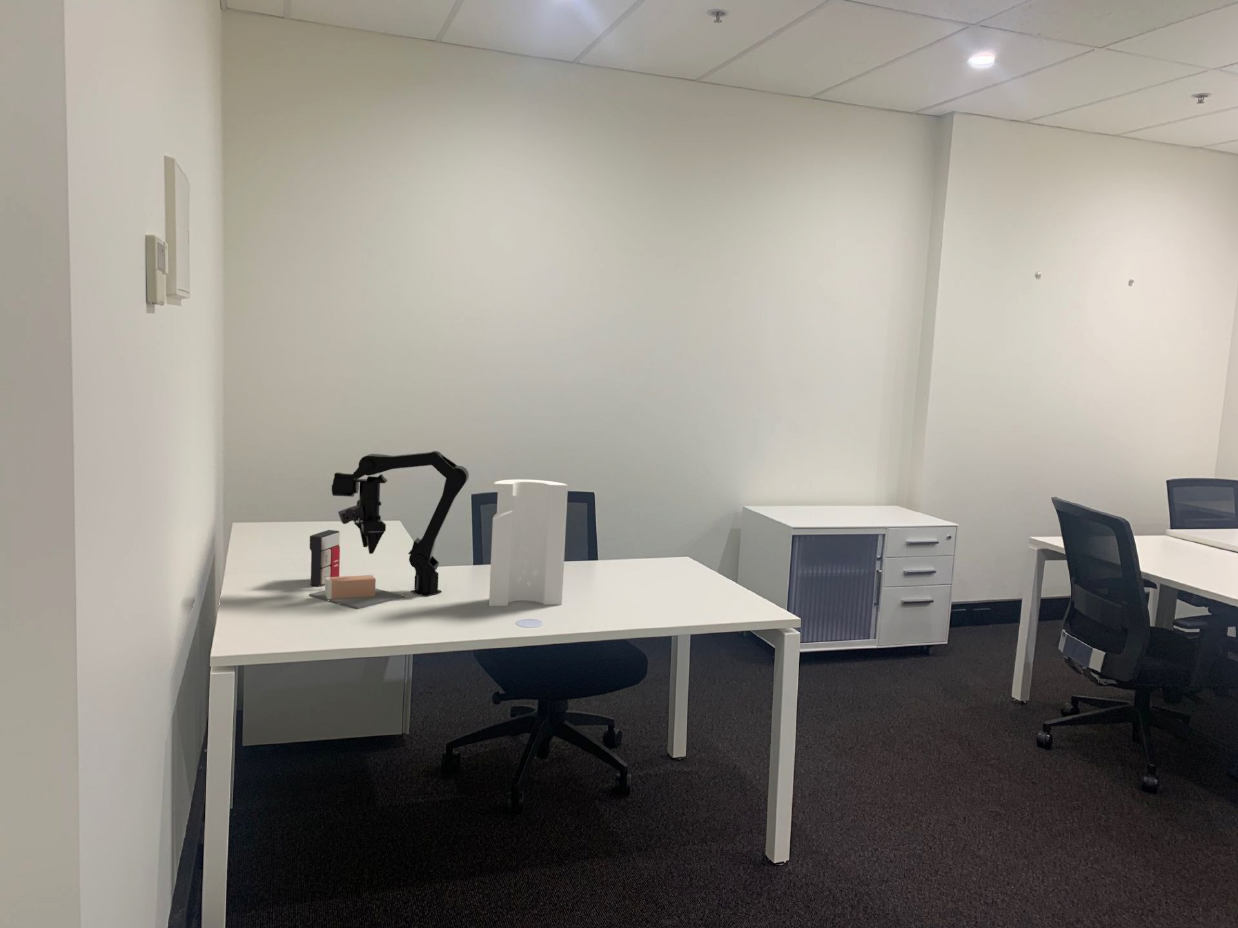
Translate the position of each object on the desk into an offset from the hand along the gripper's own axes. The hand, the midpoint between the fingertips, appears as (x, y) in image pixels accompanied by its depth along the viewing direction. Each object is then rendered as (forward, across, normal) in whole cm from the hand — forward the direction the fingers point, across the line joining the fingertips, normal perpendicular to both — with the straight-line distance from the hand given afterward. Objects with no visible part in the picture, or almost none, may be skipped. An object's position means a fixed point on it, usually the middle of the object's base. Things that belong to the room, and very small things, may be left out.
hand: (368, 550), depth 258 cm
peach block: (+9, +6, +1) cm, 11 cm away
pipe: (+12, +22, +41) cm, 48 cm away
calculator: (+12, -13, -10) cm, 20 cm away
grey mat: (+12, +6, -4) cm, 14 cm away
